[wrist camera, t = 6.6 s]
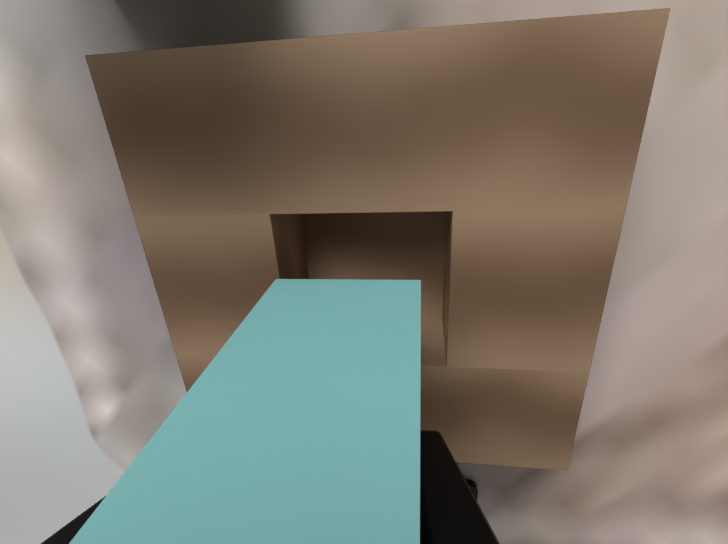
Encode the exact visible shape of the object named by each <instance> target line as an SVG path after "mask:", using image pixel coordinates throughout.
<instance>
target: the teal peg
mask: <svg viewBox="0 0 728 544" xmlns="http://www.w3.org/2000/svg"><path fill="white" fill-rule="evenodd" d="M420 390H421V280H360V279H275V281H274V282H273V283H272V285H271V286H270V287H269V288H268V290H267V291H266V292H265V294H264V295H263V296H262V297H261V299H260V300H259V301H258V302H257V304H256V305H255V306H254V308H253V309H252V310H251V311H250V313H249V314H248V315H247V317H246V318H245V319H244V320H243V322H242V323H241V324H240V325H239V327H238V328H237V329H236V331H235V332H234V333H233V334H232V336H231V337H230V338H229V340H228V341H227V342H226V343H225V345H224V346H223V347H222V348H221V350H220V351H219V352H218V354H217V355H216V356H215V357H214V359H213V360H212V361H211V363H210V364H209V365H208V366H207V368H206V369H205V370H204V372H203V373H202V374H201V375H200V377H199V378H198V379H197V380H196V382H195V383H194V384H193V386H192V387H191V388H190V389H189V391H188V392H187V393H186V395H185V396H184V397H183V398H182V400H181V401H180V402H179V403H178V405H177V406H176V407H175V409H174V410H173V411H172V412H171V414H170V415H169V416H168V418H167V419H166V420H165V421H164V423H163V424H162V425H161V426H160V428H159V429H158V430H157V432H156V433H155V434H154V435H153V437H152V438H151V439H150V441H149V442H148V443H147V444H146V446H145V447H144V448H143V450H142V451H141V452H140V453H139V455H138V456H137V457H136V458H135V460H134V461H133V462H132V464H131V465H130V466H129V467H128V469H127V470H126V471H125V473H124V474H123V475H122V476H121V478H120V479H119V480H118V482H117V483H116V484H115V485H114V487H113V488H112V489H111V490H110V492H109V493H108V494H107V496H106V497H105V498H104V499H103V501H102V502H101V503H100V504H99V506H98V507H97V508H96V510H95V511H94V512H93V513H92V515H91V516H90V517H89V519H88V520H87V521H86V522H85V524H84V525H83V526H82V528H81V529H80V530H79V531H78V533H77V534H76V535H75V536H74V538H73V539H72V540H71V542H70V543H69V544H420Z"/></svg>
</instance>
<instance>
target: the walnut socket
mask: <svg viewBox="0 0 728 544" xmlns="http://www.w3.org/2000/svg"><path fill="white" fill-rule="evenodd" d="M669 12H670V8H665V9H653V10H641V11H628V12H616V13H603V14H591V15H579V16H566V17H554V18H542V19H529V20H517V21H504V22H492V23H480V24H467V25H455V26H443V27H430V28H418V29H405V30H393V31H381V32H368V33H356V34H343V35H331V36H319V37H306V38H294V39H282V40H269V41H257V42H244V43H232V44H220V45H207V46H195V47H183V48H170V49H158V50H145V51H133V52H121V53H108V54H96V55H85V57H86V60H87V63H88V66H89V70H90V73H91V76H92V80H93V83H94V86H95V90H96V93H97V96H98V100H99V103H100V106H101V109H102V113H103V116H104V119H105V123H106V126H107V129H108V133H109V136H110V139H111V143H112V146H113V149H114V152H115V156H116V159H117V162H118V166H119V169H120V172H121V176H122V179H123V182H124V186H125V189H126V192H127V195H128V199H129V202H130V205H131V209H132V212H133V215H134V219H135V222H136V225H137V229H138V232H139V235H140V238H141V242H142V245H143V248H144V252H145V255H146V258H147V262H148V265H149V268H150V272H151V275H152V278H153V281H154V285H155V288H156V291H157V295H158V298H159V301H160V305H161V308H162V311H163V314H164V318H165V321H166V324H167V328H168V331H169V334H170V338H171V341H172V344H173V348H174V351H175V354H176V357H177V361H178V364H179V367H180V371H181V374H182V377H183V381H184V384H185V387H186V391H187V392H188V391H189V389H190V388H191V387H192V386H193V384H194V383H195V382H196V380H197V379H198V378H199V377H200V375H201V374H202V373H203V372H204V370H205V369H206V368H207V366H208V365H209V364H210V363H211V361H212V360H213V359H214V357H215V356H216V355H217V354H218V352H219V351H220V350H221V348H222V347H223V346H224V345H225V343H226V342H227V341H228V340H229V338H230V337H231V336H232V334H233V333H234V332H235V331H236V329H237V328H238V327H239V325H240V324H241V323H242V322H243V320H244V319H245V318H246V317H247V315H248V314H249V313H250V311H251V310H252V309H253V308H254V306H255V305H256V304H257V302H258V301H259V300H260V299H261V297H262V296H263V295H264V294H265V292H266V291H267V290H268V288H269V287H270V286H271V285H272V283H273V282H274V281H275V279H360V280H421V390H420V430H435V431H439V432H440V433H441V435H442V437H443V439H444V440H445V442H446V444H447V446H448V448H449V450H450V452H451V454H452V456H453V457H454V459H455V461H456V463H468V464H483V465H497V466H511V467H525V468H539V469H553V470H568V465H569V461H570V456H571V452H572V447H573V443H574V438H575V434H576V429H577V425H578V420H579V416H580V411H581V407H582V402H583V398H584V393H585V389H586V384H587V380H588V375H589V371H590V366H591V362H592V357H593V353H594V348H595V344H596V339H597V335H598V330H599V326H600V321H601V317H602V312H603V308H604V304H605V299H606V295H607V290H608V286H609V281H610V277H611V272H612V268H613V263H614V259H615V254H616V250H617V245H618V241H619V236H620V232H621V227H622V223H623V218H624V214H625V209H626V205H627V200H628V196H629V191H630V187H631V182H632V178H633V173H634V169H635V164H636V160H637V155H638V151H639V146H640V142H641V137H642V133H643V128H644V124H645V119H646V115H647V110H648V106H649V102H650V97H651V93H652V88H653V84H654V79H655V75H656V70H657V66H658V61H659V57H660V52H661V48H662V43H663V39H664V34H665V30H666V25H667V21H668V16H669Z"/></svg>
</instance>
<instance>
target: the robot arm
mask: <svg viewBox="0 0 728 544" xmlns="http://www.w3.org/2000/svg"><path fill="white" fill-rule="evenodd" d="M477 495H478V491H477V485H476V483H475V482H474V481H472V480H467V479H465V478H464V476H463V474H462V472H461V471H460V469H459V467H458V465H457V463H456V461H455V459H454V457H453V456H452V454H451V452H450V450H449V448H448V446H447V444H446V442H445V440H444V439H443V437H442V435H441V433H440V432H439V431H435V430H420V544H499V542H498V540H497V538H496V536H495V535H494V533H493V531H492V529H491V527H490V525H489V523H488V521H487V519H486V518H485V516H484V514H483V512H482V510H481V508H480V506H479V504H478V503H477ZM106 496H107V495H106ZM106 496H105V497H106ZM105 497H104V498H105ZM104 498H102V499H101V500H100V501H98V502H97V503H95V504H94V505H93V506H91V507H90V508H89V509H87V510H86V511H85V512H83V513H82V514H81V515H79V516H78V517H76V518H75V519H74V520H72V521H71V522H70V523H68V524H67V525H66V526H64V527H63V528H61V529H60V530H59V531H57V532H56V533H55V534H53V535H52V536H51V537H49V538H48V539H46V540H45V541H44V542H42V543H41V544H69V543H70V542H71V540H72V539H73V538H74V536H75V535H76V534H77V533H78V531H79V530H80V529H81V528H82V526H83V525H84V524H85V522H86V521H87V520H88V519H89V517H90V516H91V515H92V513H93V512H94V511H95V510H96V508H97V507H98V506H99V504H100V503H101V502H102V501H103V499H104Z"/></svg>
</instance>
